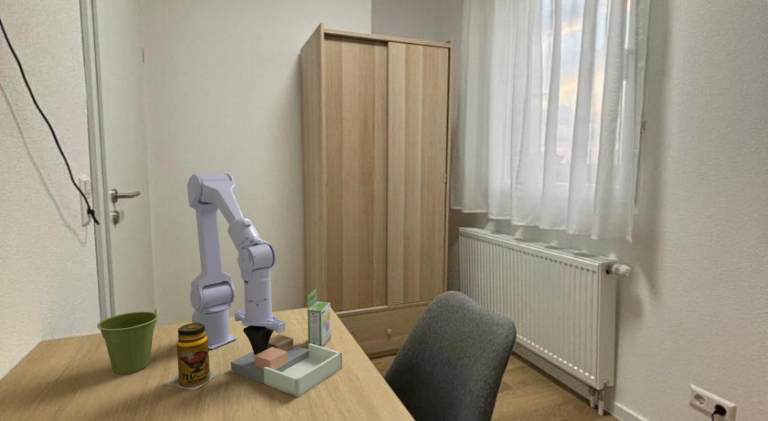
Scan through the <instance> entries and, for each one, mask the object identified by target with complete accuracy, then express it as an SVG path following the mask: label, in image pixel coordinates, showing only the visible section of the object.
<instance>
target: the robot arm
mask: <svg viewBox="0 0 768 421" xmlns="http://www.w3.org/2000/svg"><path fill="white" fill-rule="evenodd" d="M186 185H187V187H186V188H187V189H186V190H187V198H188V204H189V205H188V206H189V208H191V209H194V210H195V217H196V219H195V220H196V228H197V239H198V240H197V241H198V250H199V259H200V269H201V270H200V271H201V272H200V273H199V274H198V275H197V276H196V277H195V278H194V279H193V280H192V281H190V294H189V301H190V304H191V306H192V308H193V310H194V311H193V313H192V315H191V323H202V324H204V325H205V332H206V334H205V335H206V336H207V338H208V350H214V349H217V348H219V347H221V346H223V345H226V344H229V343H231V342H233V341H236V340H238V336H235V335H232V334H231V331H230V313H229V312H230V311H229V308H230V307H232V303H234V301H235V298H236V289H235V285H234V283H233V278H232V277H233V276H231V274H228V273H227V272H225V271H224V270H223V268H222V256H221V246H220V245H221V244H220V234H219V223H218V216H217V215H218V214H217V212H218V210H219V211H220V213H221V214H222V216H223V218H224V219H225V221H226V222H227V223H228V224H229V226H228V227H227V228H228V229H227V234H228V235H229V237H230V239H231V241H232V243H233V245H234V247H235V250H236V251H237V253H238V254H237V259H236V260H237V264H238V268H239V270H240V277H241V279H242V280H243V290H244V310H238V311H236V312H234V321H235V322H241V326H245V327H244V328H242V331H243V333H244V335H245V336H246V337H247V339H248V341H249V343H250V346H251V348H252V352H254V355H256V354H258V353H260V352H263V351H265V350H267V347H268V343H269V340H270V338H271V337H272V335H273V333H274V332H275V333H276V334H280V333H283V332H285V331H286V321H284V320H283V321H282V320H281V319H279V318H278V317H277V316H275V315H273V309H272V308H273V306H272V305H273V304H272V303H273V302H272V280H271V279H272V278H271V277H272V274H271V269H272V268H273V267H274V266H275V263H276V252H275V249H274V247H273V245H272V244H271V243H270V242H267V241H266V240H265V239H262V237H261V236H260V234H259V233H258V231H257V229H256V227H255V225H254V223H253V222H252V220H251V219H249V218H244V215H243V214H244V213H243V212H242V210H241V208H240V206H239V203H238V200H237V198H236V197H235V195H236V181H235V178H234V177H233V176H232V175H231V174H230V173H224V174H221V173H220V174H195V173H194V174H192V175H191V176H190V177H189V179H188V182H187V184H186Z"/></svg>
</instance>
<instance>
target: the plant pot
mask: <svg viewBox="0 0 768 421" xmlns="http://www.w3.org/2000/svg"><path fill="white" fill-rule="evenodd" d="M158 318H159V314H158V313H156V312H153V311H133V312H126V313H122V314H116V315H114V316H111V317H107V318H105V319H103V320H101V321H100V322H98V323H97V325H96V326H97V329H98V330H100V332H101V335H102V338H103V339H104V342H105V346H106V350H107V354H108V357H109V361H110V365H111V368H112V371H113V373H117V374H119V375H127V374H130V373H131V374H133V373H136V372H140V370H141V369H143V368H147V367H148V366H149V365H150V362H151V354H152V353H151V352H152V345H153V338H154V330H155V328H156V321H157V320H158Z"/></svg>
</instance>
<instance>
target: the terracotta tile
mask: <svg viewBox="0 0 768 421" xmlns="http://www.w3.org/2000/svg"><path fill="white" fill-rule="evenodd" d="M287 363H288V352H286V351H283V350H280V349H277V348H274V347H271V348H269V349H267V350H265V351H263V352H260V353H258V354H256V355H255V366H256V367H259V368H261V369H264V367H269V368H272V369H274V370H276V369H277V368H279V367H281V366H283V365H285V364H287Z"/></svg>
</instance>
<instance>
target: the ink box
mask: <svg viewBox="0 0 768 421" xmlns="http://www.w3.org/2000/svg"><path fill="white" fill-rule="evenodd" d="M317 291H318V290H317V288H315V289H314V290H313V291H312V292H310V294H308V295H307V298H306V299H307V312H306V313H307V346H308V348H309V344H310V343H311V344H314V345H317V346H321V347H324V346H325V345H327V342H329V340H330V339H331V338H332V323H331V322H332V320H331V319H332V318H331V315H332V314H331V302H328V301H318V295H317V293H318V292H317ZM313 296H314V298H313V299H312V297H313Z"/></svg>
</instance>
